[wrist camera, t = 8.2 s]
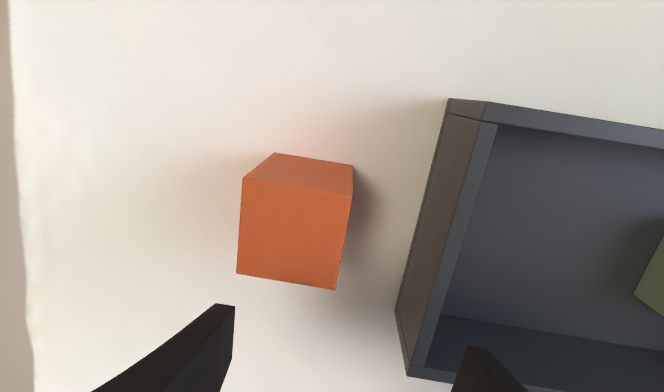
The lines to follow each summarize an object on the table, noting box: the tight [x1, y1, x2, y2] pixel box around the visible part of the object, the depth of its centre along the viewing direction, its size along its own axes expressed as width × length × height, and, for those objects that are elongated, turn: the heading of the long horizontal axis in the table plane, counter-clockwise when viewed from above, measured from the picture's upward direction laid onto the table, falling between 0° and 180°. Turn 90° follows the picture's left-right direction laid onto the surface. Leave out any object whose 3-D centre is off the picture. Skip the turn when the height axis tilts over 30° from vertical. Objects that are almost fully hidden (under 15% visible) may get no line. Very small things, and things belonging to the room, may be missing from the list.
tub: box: [395, 98, 664, 392], centre depth 16 cm, size 13×20×5 cm, turn 81°
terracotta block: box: [236, 153, 353, 290], centre depth 16 cm, size 4×4×5 cm
